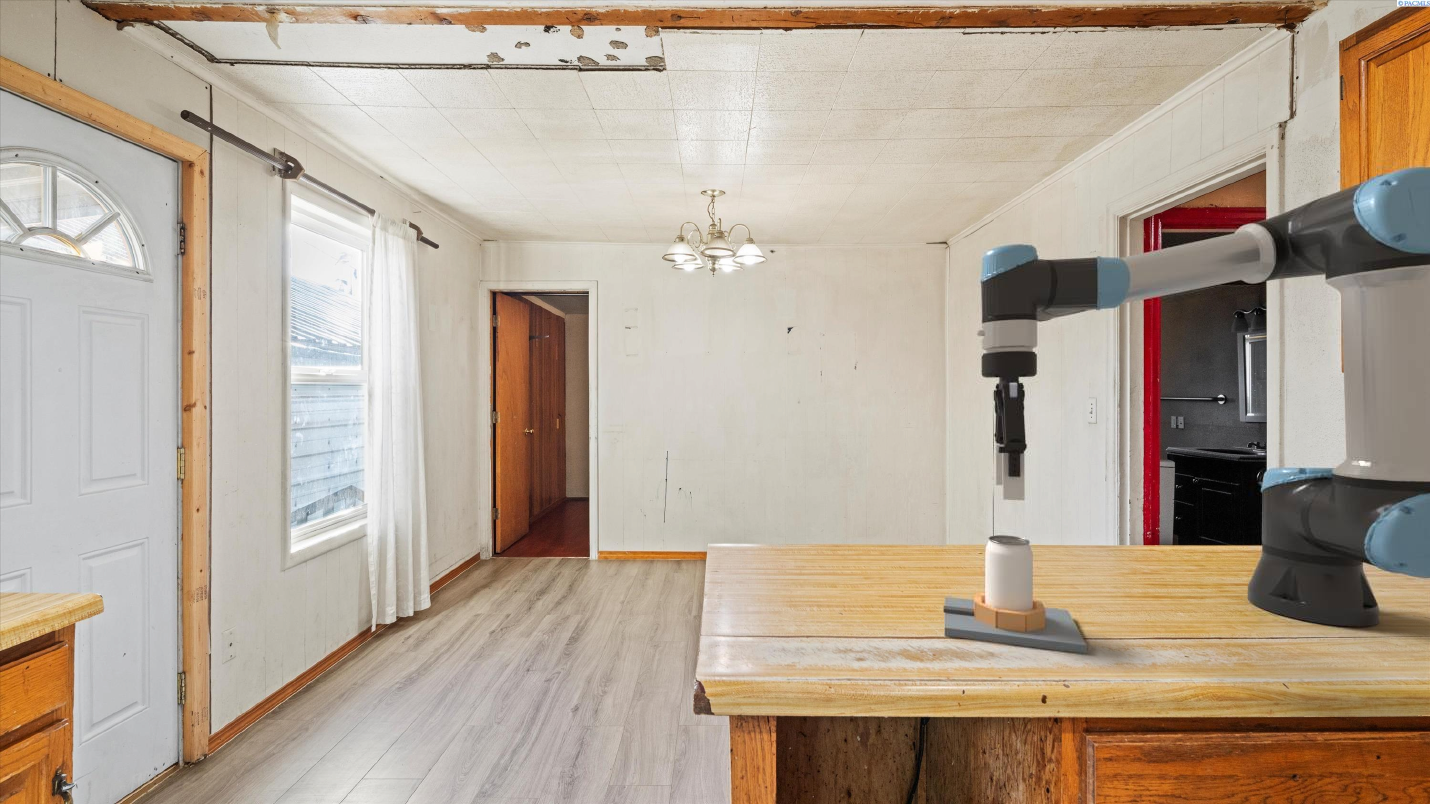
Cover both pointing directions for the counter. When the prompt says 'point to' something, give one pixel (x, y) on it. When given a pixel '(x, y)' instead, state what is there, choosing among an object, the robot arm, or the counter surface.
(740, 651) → the counter surface
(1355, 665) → the counter surface
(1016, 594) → the can
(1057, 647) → the board
